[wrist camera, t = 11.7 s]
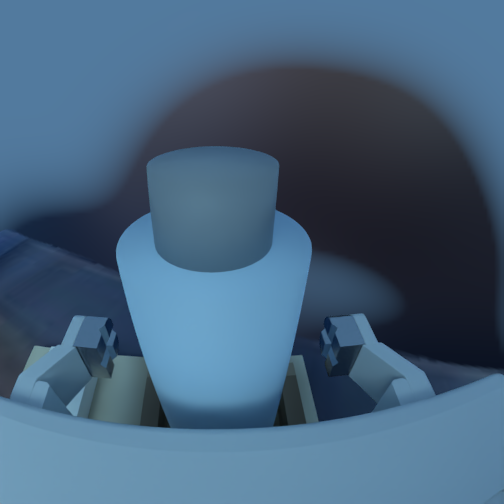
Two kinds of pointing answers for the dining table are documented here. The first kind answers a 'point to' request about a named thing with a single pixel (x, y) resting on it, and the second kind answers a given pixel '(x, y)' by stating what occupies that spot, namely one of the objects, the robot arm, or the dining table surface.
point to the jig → (148, 404)
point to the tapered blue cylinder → (215, 286)
